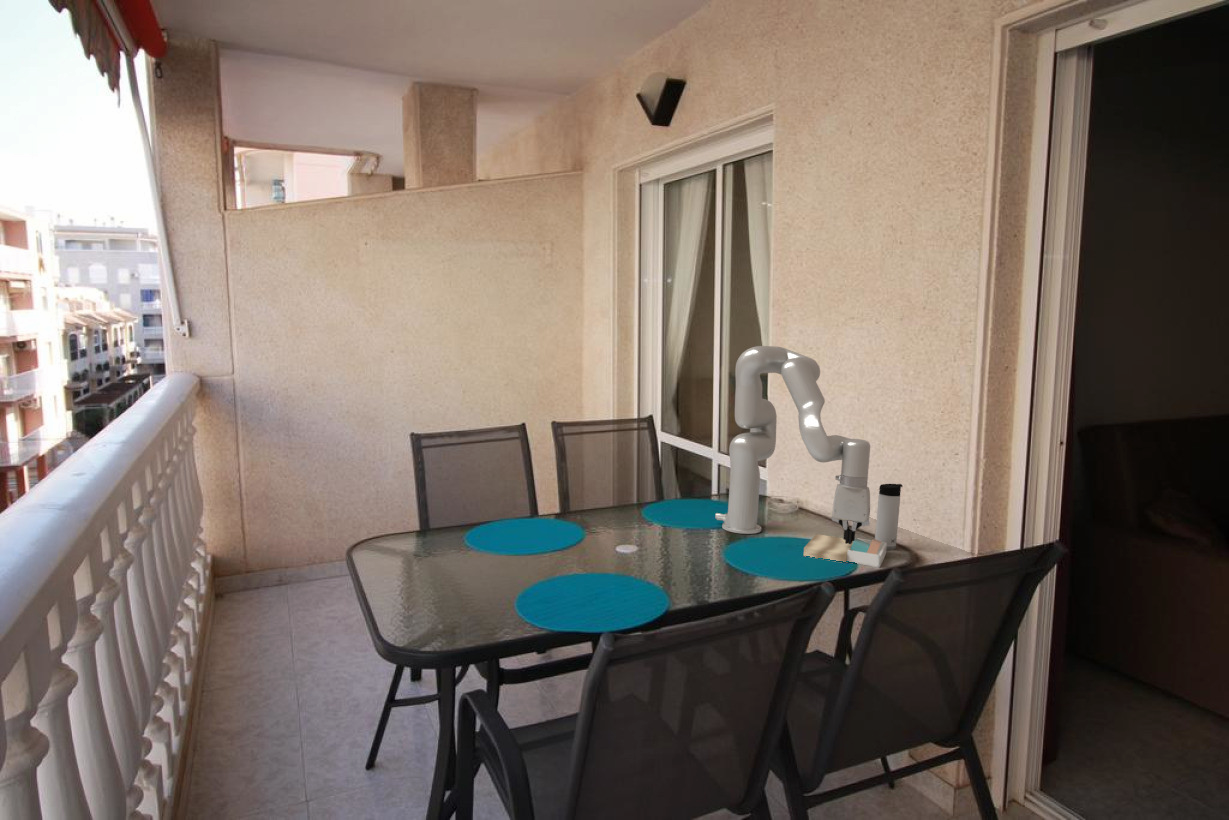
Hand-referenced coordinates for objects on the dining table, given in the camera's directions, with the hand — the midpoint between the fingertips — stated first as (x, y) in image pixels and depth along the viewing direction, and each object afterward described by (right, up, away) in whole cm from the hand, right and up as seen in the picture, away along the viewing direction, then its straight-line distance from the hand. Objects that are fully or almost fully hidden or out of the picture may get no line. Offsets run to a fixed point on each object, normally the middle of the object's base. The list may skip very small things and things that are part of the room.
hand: (848, 542), depth 226 cm
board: (-5, -3, +3) cm, 6 cm away
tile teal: (+3, -2, -1) cm, 4 cm away
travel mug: (+15, -4, +11) cm, 19 cm away
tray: (+5, -4, -2) cm, 7 cm away
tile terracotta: (+5, -1, -2) cm, 6 cm away
